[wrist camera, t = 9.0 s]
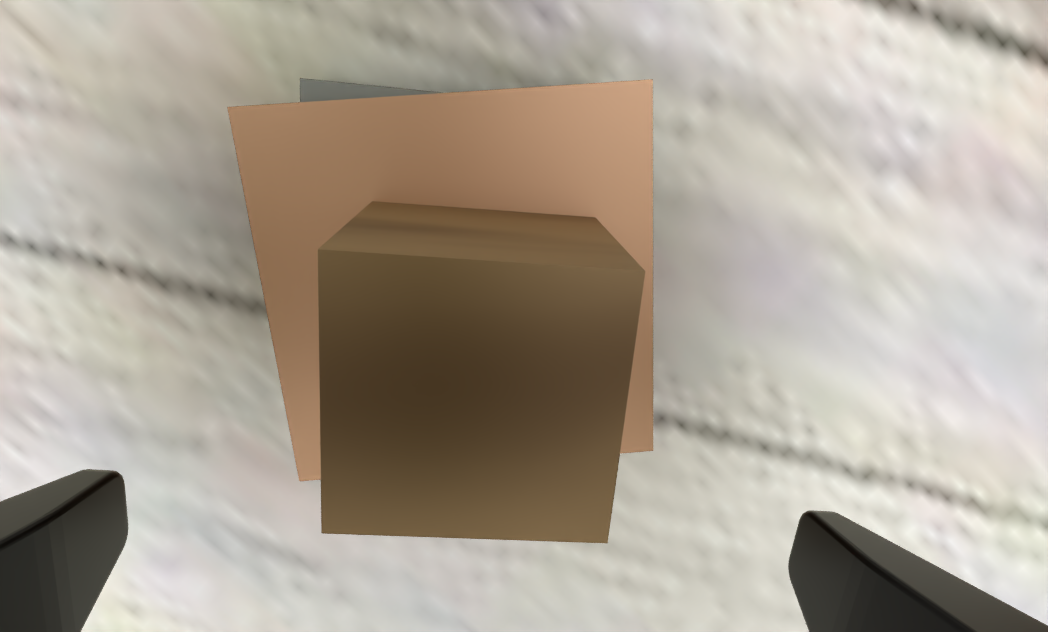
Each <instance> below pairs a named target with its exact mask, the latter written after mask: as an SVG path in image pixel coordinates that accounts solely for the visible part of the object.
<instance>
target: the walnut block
mask: <svg viewBox="0 0 1048 632" xmlns="http://www.w3.org/2000/svg"><path fill="white" fill-rule="evenodd" d="M644 277H645V270H644V269H643V268H642V267H641V266H640V265H639V264H638V263H637V262H636V260H635V259H634V258H633V257H632V256H631V255H630V254H629V253H628V252H627V251H626V250H625V249H624V248H623V246H622V245H621V244H620V243H619V242H618V241H617V240H616V239H615V238H614V237H613V236H612V235H611V234H610V233H609V231H608V230H607V229H606V228H605V227H604V226H603V225H602V224H601V223H600V222H599V221H598V220H597V219H596V217H584V216H570V215H556V214H542V213H528V212H515V211H501V210H487V209H473V208H459V207H445V206H431V205H418V204H404V203H390V202H376V201H372V202H371V203H370V204H368V205H367V206H366V207H365V208H364V209H363V210H362V211H360V212H359V213H358V214H357V215H356V216H355V217H354V218H353V219H351V220H350V221H349V222H348V223H347V224H346V225H345V226H344V227H342V228H341V229H340V230H339V231H338V232H337V233H336V234H334V235H333V236H332V237H331V238H330V239H329V240H328V241H327V242H325V243H324V244H323V245H322V246H321V247H320V248H319V249H318V307H319V379H320V452H321V524H322V533H327V534H356V535H384V536H413V537H442V538H471V539H500V540H529V541H557V542H586V543H607V542H608V535H609V528H610V521H611V514H612V506H613V499H614V492H615V485H616V478H617V471H618V463H619V456H620V449H621V442H622V435H623V428H624V421H625V413H626V406H627V399H628V392H629V385H630V378H631V370H632V363H633V356H634V349H635V342H636V335H637V328H638V320H639V313H640V306H641V299H642V292H643V285H644Z"/></svg>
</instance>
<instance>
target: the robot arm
mask: <svg viewBox="0 0 1048 632" xmlns="http://www.w3.org/2000/svg"><path fill="white" fill-rule="evenodd" d="M127 535H128V517H127V506H126V495H125V484H124V480H123V477H122V475H121V474H119V473H118V472H117V471H110V470H92V469H87V470H82V471H79V472H76V473H73V474H71V475H68V476H66V477H63V478H60V479H58V480H55V481H53V482H50V483H47V484H45V485H42V486H40V487H37V488H34V489H32V490H29V491H27V492H24V493H21V494H19V495H16V496H14V497H11V498H8V499H6V500H3V501H1V502H0V632H81V630H82V628H83V626H84V624H85V622H86V620H87V618H88V616H89V614H90V612H91V610H92V608H93V606H94V605H95V603H96V601H97V599H98V597H99V595H100V593H101V591H102V589H103V587H104V585H105V583H106V581H107V579H108V577H109V575H110V573H111V571H112V569H113V568H114V566H115V564H116V562H117V560H118V558H119V556H120V554H121V552H122V550H123V548H124V546H125V543H126V540H127ZM788 568H789V576H790V580H791V583H792V586H793V588H794V591H795V594H796V597H797V599H798V602H799V605H800V608H801V610H802V613H803V616H804V619H805V621H806V624H807V627H808V630H809V632H1048V626H1047V625H1045V624H1044V623H1042V622H1040V621H1038V620H1036V619H1034V618H1032V617H1030V616H1029V615H1027V614H1025V613H1023V612H1021V611H1019V610H1017V609H1016V608H1014V607H1012V606H1010V605H1008V604H1006V603H1004V602H1002V601H1001V600H999V599H997V598H995V597H993V596H991V595H989V594H988V593H986V592H984V591H982V590H980V589H978V588H976V587H974V586H973V585H971V584H969V583H967V582H965V581H963V580H961V579H959V578H958V577H956V576H954V575H952V574H950V573H948V572H946V571H945V570H943V569H941V568H939V567H937V566H935V565H933V564H931V563H930V562H928V561H926V560H924V559H922V558H920V557H918V556H916V555H915V554H913V553H911V552H909V551H907V550H905V549H903V548H902V547H900V546H898V545H896V544H894V543H892V542H890V541H888V540H887V539H885V538H883V537H881V536H879V535H877V534H875V533H874V532H872V531H870V530H868V529H866V528H864V527H862V526H860V525H859V524H857V523H855V522H853V521H851V520H849V519H847V518H845V517H844V516H842V515H840V514H838V513H835V512H829V511H807V512H805V513H804V514H803V515H802V516H801V518H800V520H799V524H798V527H797V531H796V535H795V539H794V543H793V546H792V550H791V554H790V558H789V566H788Z"/></svg>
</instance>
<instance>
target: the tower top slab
mask: <svg viewBox="0 0 1048 632" xmlns="http://www.w3.org/2000/svg"><path fill="white" fill-rule="evenodd" d="M228 113H229V118H230V123H231V128H232V133H233V139H234V144H235V149H236V154H237V159H238V165H239V170H240V175H241V180H242V185H243V191H244V196H245V201H246V206H247V211H248V217H249V222H250V227H251V232H252V237H253V243H254V248H255V253H256V258H257V263H258V269H259V274H260V279H261V284H262V289H263V294H264V300H265V305H266V310H267V315H268V320H269V326H270V331H271V336H272V341H273V346H274V352H275V357H276V362H277V367H278V372H279V378H280V383H281V388H282V393H283V398H284V404H285V409H286V414H287V419H288V424H289V430H290V435H291V440H292V445H293V450H294V456H295V461H296V466H297V471H298V476H299V481H308V480H320V479H321V452H320V379H319V307H318V249H319V248H320V247H321V246H322V245H323V244H324V243H325V242H327V241H328V240H329V239H330V238H331V237H332V236H333V235H334V234H336V233H337V232H338V231H339V230H340V229H341V228H342V227H344V226H345V225H346V224H347V223H348V222H349V221H350V220H351V219H353V218H354V217H355V216H356V215H357V214H358V213H359V212H360V211H362V210H363V209H364V208H365V207H366V206H367V205H368V204H370V203H371V202H372V201H376V202H390V203H404V204H418V205H431V206H445V207H459V208H473V209H487V210H501V211H515V212H528V213H542V214H556V215H570V216H584V217H596V219H597V220H598V221H599V222H600V223H601V224H602V225H603V226H604V227H605V228H606V229H607V230H608V231H609V233H610V234H611V235H612V236H613V237H614V238H615V239H616V240H617V241H618V242H619V243H620V244H621V245H622V246H623V248H624V249H625V250H626V251H627V252H628V253H629V254H630V255H631V256H632V257H633V258H634V259H635V260H636V262H637V263H638V264H639V265H640V266H641V267H642V268H643V269H644V270H645V277H644V285H643V292H642V299H641V306H640V313H639V320H638V328H637V335H636V342H635V349H634V356H633V363H632V370H631V378H630V385H629V392H628V399H627V406H626V413H625V421H624V428H623V435H622V442H621V449H620V453H632V452H643V451H653V79H651V80H636V81H620V82H605V83H589V84H574V85H559V86H543V87H528V88H513V89H497V90H482V91H467V92H451V93H436V94H420V95H405V96H390V97H374V98H359V99H344V100H328V101H313V102H298V103H282V104H267V105H252V106H236V107H228Z"/></svg>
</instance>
